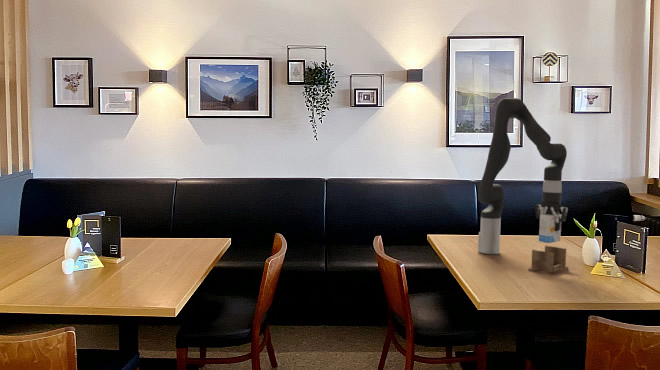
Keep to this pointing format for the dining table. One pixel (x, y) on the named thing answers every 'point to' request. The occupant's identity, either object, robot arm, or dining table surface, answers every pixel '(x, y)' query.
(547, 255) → the holder
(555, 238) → the ink box
